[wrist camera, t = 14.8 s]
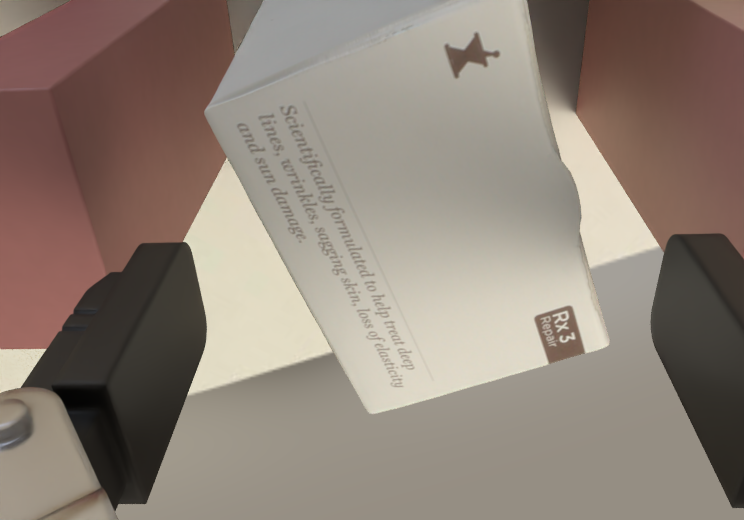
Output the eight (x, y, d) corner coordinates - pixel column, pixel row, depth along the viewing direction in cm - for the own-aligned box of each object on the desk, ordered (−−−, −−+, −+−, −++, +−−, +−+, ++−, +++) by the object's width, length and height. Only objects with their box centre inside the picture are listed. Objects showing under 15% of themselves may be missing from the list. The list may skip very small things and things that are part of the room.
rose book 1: (137, -35, 24) (-112, 93, 12) (221, -39, 24) (49, 87, 12) (171, 125, 27) (-2, 350, 16) (245, 123, 27) (127, 349, 15)
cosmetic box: (285, -47, 24) (162, 89, 11) (451, -117, 23) (521, -53, 10) (372, 161, 28) (352, 432, 15) (516, 112, 27) (624, 363, 14)
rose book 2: (595, -55, 23) (798, 62, 12) (684, -58, 23) (983, 57, 11) (575, 113, 27) (718, 340, 15) (653, 111, 26) (862, 339, 15)
